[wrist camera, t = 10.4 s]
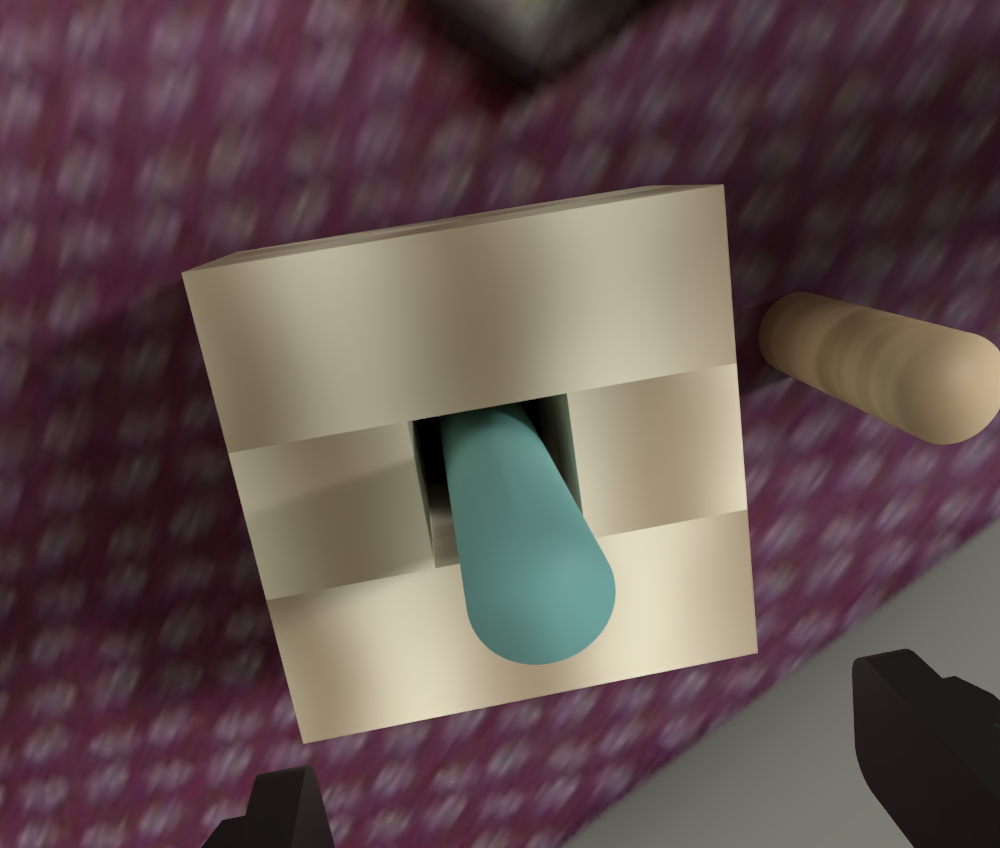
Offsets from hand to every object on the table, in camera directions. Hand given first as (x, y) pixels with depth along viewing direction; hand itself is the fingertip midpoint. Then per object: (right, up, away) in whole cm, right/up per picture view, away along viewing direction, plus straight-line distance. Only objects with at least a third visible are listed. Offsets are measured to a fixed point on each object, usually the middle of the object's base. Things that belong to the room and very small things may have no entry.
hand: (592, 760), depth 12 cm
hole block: (-2, +5, +18) cm, 19 cm away
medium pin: (+9, +8, +18) cm, 22 cm away
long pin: (-2, +5, +18) cm, 19 cm away
